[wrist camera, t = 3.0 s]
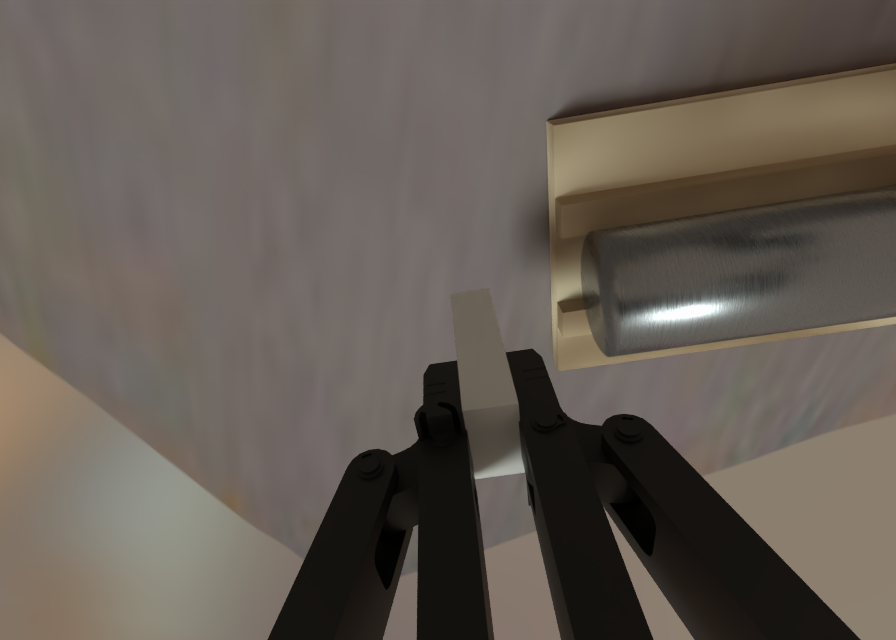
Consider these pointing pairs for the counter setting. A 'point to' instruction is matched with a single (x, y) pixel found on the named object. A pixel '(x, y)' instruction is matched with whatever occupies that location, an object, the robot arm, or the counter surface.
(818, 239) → the tube
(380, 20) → the counter surface
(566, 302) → the rail
